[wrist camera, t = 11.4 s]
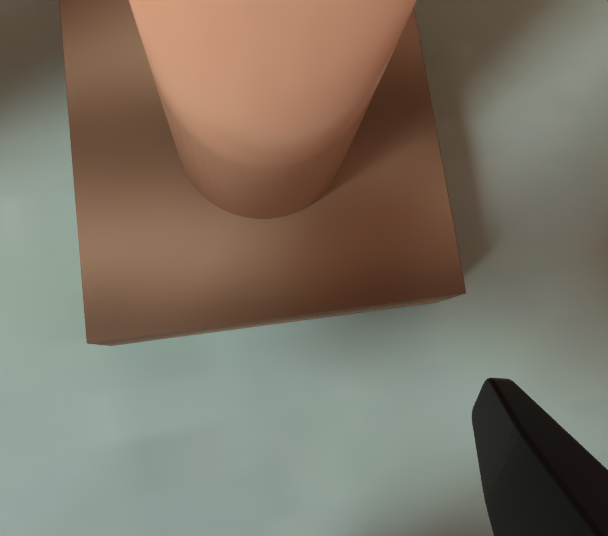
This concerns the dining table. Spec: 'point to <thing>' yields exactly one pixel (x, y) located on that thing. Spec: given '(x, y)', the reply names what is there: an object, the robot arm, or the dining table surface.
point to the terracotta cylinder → (266, 90)
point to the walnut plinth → (236, 229)
